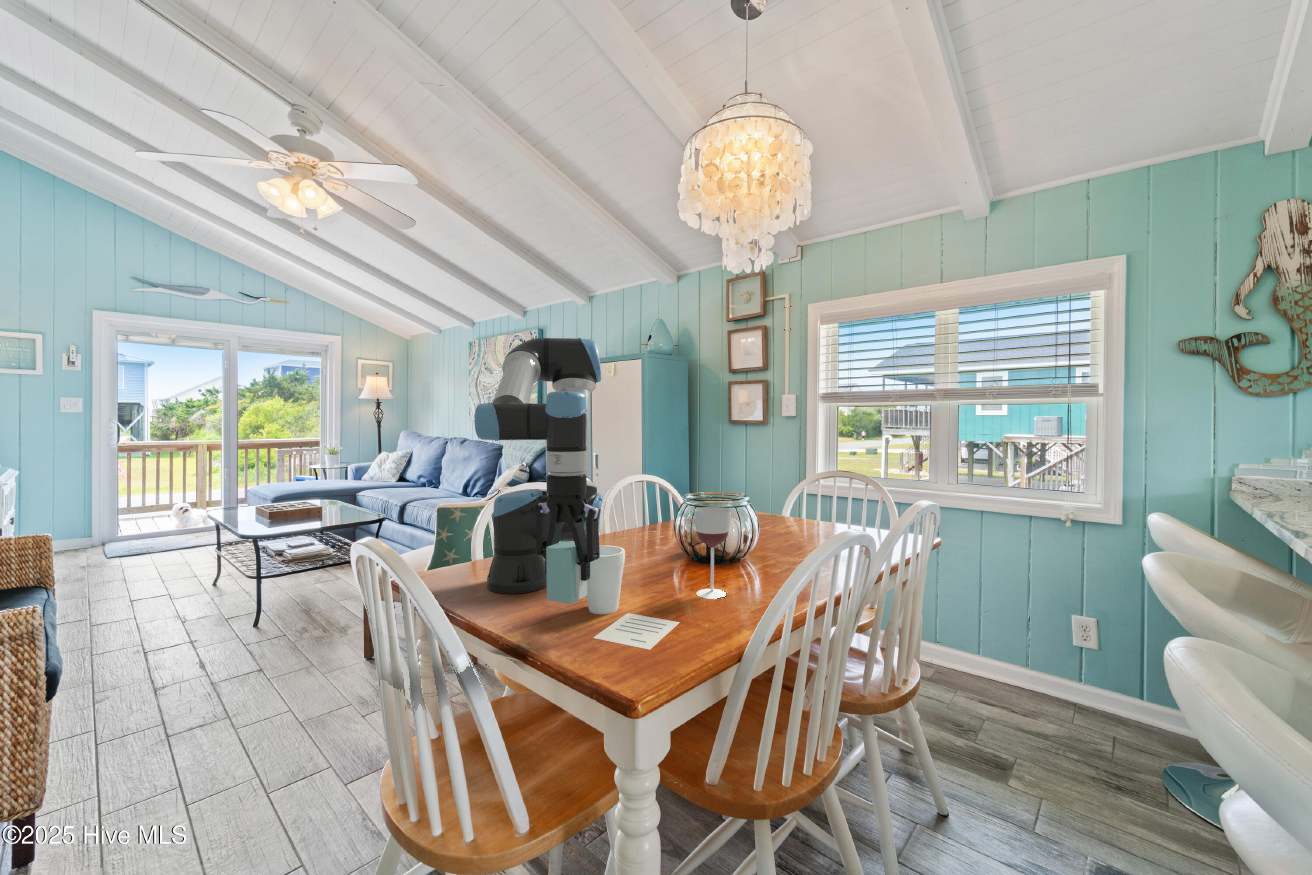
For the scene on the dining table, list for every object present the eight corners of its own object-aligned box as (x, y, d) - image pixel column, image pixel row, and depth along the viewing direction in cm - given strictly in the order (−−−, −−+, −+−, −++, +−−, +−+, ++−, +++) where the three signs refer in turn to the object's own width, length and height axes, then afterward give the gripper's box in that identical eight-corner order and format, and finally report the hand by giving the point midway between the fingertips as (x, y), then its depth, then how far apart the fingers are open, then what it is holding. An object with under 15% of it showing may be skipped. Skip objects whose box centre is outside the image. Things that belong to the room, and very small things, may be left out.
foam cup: (617, 619, 112) (617, 557, 112) (575, 616, 114) (575, 555, 114) (629, 603, 122) (629, 546, 121) (589, 600, 124) (589, 544, 123)
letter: (592, 638, 103) (592, 637, 103) (627, 613, 115) (627, 612, 115) (649, 650, 98) (649, 649, 98) (679, 623, 110) (679, 622, 110)
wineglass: (736, 597, 126) (736, 511, 125) (701, 601, 123) (701, 513, 123) (722, 586, 134) (722, 506, 133) (689, 590, 131) (689, 507, 130)
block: (563, 591, 107) (563, 541, 107) (587, 595, 105) (587, 543, 104) (546, 599, 102) (546, 547, 102) (571, 604, 100) (570, 550, 99)
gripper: (514, 473, 103) (515, 593, 104) (598, 477, 95) (599, 608, 96) (539, 469, 110) (540, 582, 111) (619, 473, 102) (619, 595, 103)
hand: (567, 594), depth 103 cm, fingers closed on block, 5 cm apart
